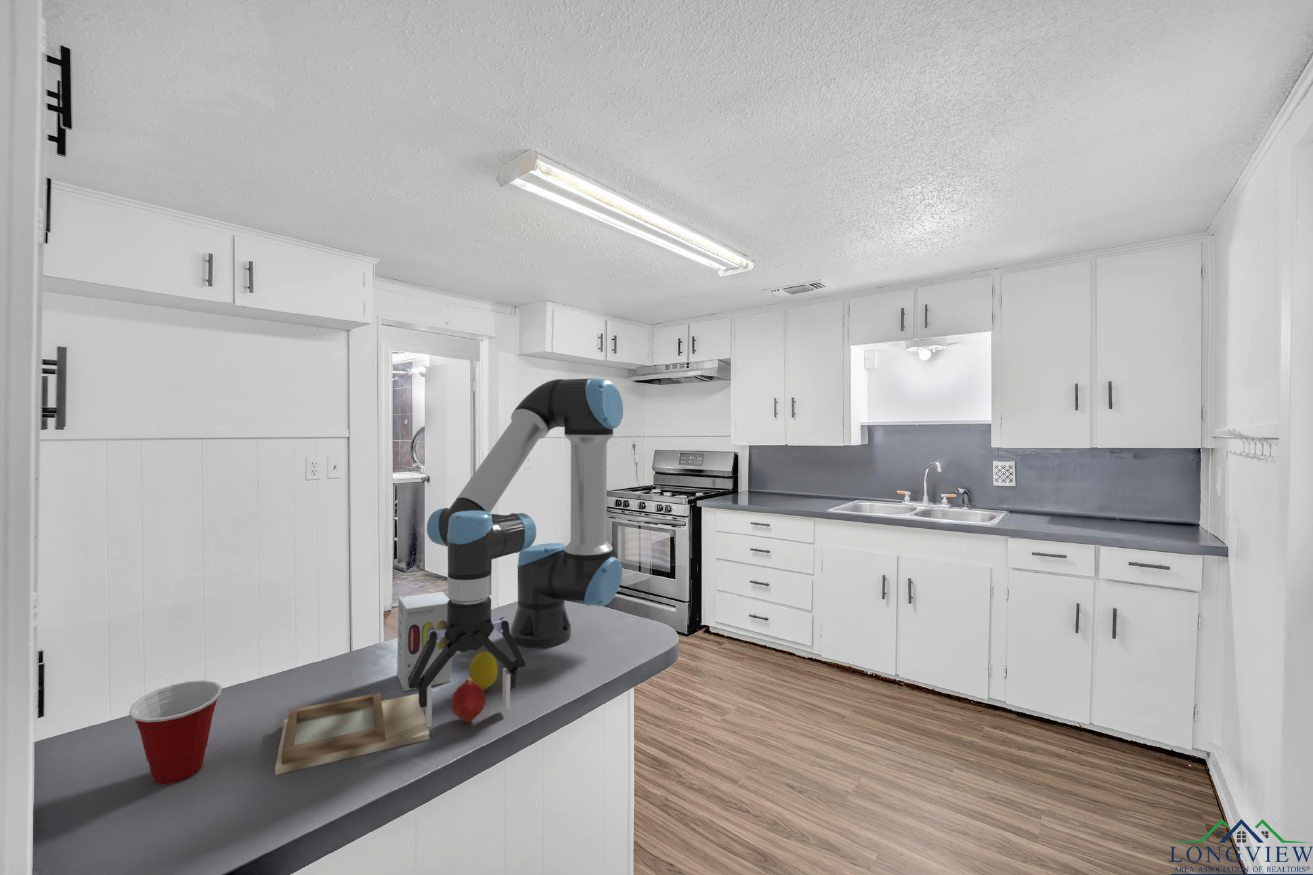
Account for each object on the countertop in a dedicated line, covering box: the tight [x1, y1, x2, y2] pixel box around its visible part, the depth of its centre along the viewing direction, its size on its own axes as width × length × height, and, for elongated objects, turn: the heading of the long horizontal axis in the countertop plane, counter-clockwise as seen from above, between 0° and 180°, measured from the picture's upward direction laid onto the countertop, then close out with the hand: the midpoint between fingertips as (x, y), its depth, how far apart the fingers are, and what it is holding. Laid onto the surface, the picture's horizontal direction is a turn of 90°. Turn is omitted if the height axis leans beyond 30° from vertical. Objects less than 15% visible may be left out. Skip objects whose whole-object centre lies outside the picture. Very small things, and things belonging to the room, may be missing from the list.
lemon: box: [468, 650, 499, 691], centre depth 116 cm, size 6×6×8 cm
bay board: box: [274, 692, 430, 776], centre depth 100 cm, size 22×16×3 cm
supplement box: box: [396, 591, 452, 692], centre depth 121 cm, size 10×9×17 cm
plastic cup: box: [128, 679, 222, 785], centre depth 87 cm, size 11×11×12 cm
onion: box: [451, 677, 486, 723], centre depth 104 cm, size 6×6×8 cm
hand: (468, 714), depth 104 cm, fingers open, 13 cm apart
